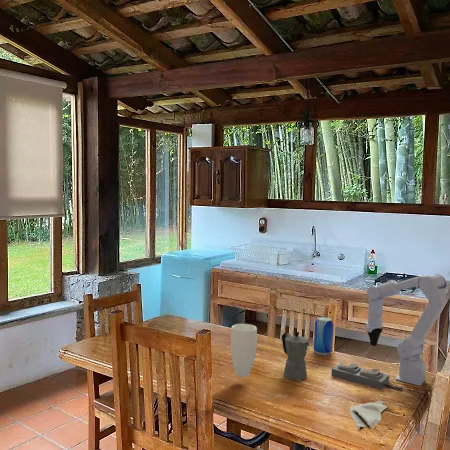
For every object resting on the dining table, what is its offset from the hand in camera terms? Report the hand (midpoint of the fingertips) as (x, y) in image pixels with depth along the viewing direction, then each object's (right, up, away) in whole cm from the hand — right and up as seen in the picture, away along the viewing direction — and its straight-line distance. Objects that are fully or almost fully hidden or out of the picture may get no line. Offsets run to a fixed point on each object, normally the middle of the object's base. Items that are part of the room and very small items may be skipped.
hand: (373, 345), depth 198 cm
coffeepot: (-36, -9, -11) cm, 39 cm away
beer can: (-18, -8, +17) cm, 26 cm away
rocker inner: (-6, -7, -17) cm, 19 cm away
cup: (-57, -9, -21) cm, 61 cm away
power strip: (-7, -10, -15) cm, 20 cm away
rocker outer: (-13, -6, -11) cm, 18 cm away
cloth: (-16, -13, -43) cm, 47 cm away
